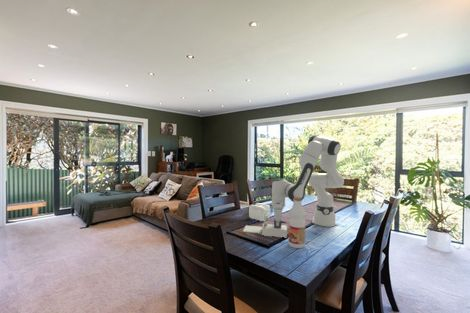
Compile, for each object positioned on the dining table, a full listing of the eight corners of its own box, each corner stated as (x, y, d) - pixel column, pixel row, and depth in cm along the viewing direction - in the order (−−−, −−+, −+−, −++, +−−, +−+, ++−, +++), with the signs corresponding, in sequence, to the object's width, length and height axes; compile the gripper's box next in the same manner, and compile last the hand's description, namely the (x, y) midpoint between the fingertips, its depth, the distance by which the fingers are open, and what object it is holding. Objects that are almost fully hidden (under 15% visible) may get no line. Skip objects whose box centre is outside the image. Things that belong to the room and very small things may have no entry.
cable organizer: (270, 219, 181) (271, 205, 180) (263, 222, 173) (263, 207, 173) (256, 215, 191) (256, 202, 190) (248, 218, 183) (248, 204, 183)
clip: (263, 225, 149) (263, 215, 149) (264, 220, 160) (264, 210, 160) (267, 226, 148) (267, 215, 148) (267, 221, 159) (268, 211, 159)
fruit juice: (306, 249, 127) (307, 200, 126) (289, 248, 127) (291, 199, 127) (302, 242, 136) (303, 196, 136) (287, 241, 137) (288, 196, 136)
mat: (245, 226, 163) (245, 225, 163) (262, 227, 160) (262, 226, 160) (242, 232, 151) (242, 231, 151) (260, 233, 149) (260, 232, 149)
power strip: (262, 230, 155) (263, 222, 155) (286, 232, 151) (286, 224, 151) (261, 235, 146) (261, 227, 146) (286, 237, 143) (287, 229, 142)
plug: (274, 229, 151) (274, 218, 151) (285, 230, 149) (285, 219, 149) (273, 231, 146) (274, 220, 146) (285, 233, 145) (286, 221, 145)
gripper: (274, 199, 159) (273, 218, 159) (272, 206, 139) (272, 228, 139) (283, 200, 157) (282, 219, 158) (283, 207, 137) (282, 229, 138)
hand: (277, 223), depth 148 cm, fingers open, 6 cm apart
